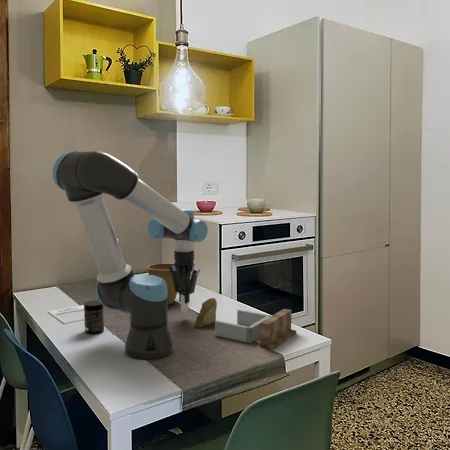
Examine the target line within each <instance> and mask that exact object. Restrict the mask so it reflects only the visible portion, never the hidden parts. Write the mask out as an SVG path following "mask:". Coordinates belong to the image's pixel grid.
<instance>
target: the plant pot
mask: <svg viewBox="0 0 450 450" xmlns="http://www.w3.org/2000/svg"><path fill="white" fill-rule="evenodd" d="M173 265H174V263H171V262H169V263H167V262H166V263H165V262H164V263H163V262H162V263H154V264H150V265H148V266H147V273H148V274H147V275H154V276H158V277H160V278H162V279H164V280H165V282H166V284H167V291H168V305H172V304H174V303H175V300H176V298H177V295H178V292H175V289H174V284H173V279H172V274H171V272H170V270H169V267H172V266H173ZM177 272H178V271H177Z"/></svg>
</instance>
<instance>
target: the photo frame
mask: <svg viewBox="0 0 450 450" xmlns="http://www.w3.org/2000/svg"><path fill="white" fill-rule="evenodd" d="M81 311H84V304H81V305H76V306H70V307H65V308H60V309H55V310H48V311H47V313H48V314H49V315H51V317H54V318H55V319H56V320H58V321H59V322H61V323H62V324H63V325H67V324H72V323H77V322H81V321H84V317H83V318H79V319H74V320H69V321H65V320H64V319H62V318H60V317H59V315H64V314H70V313H76V312H81Z"/></svg>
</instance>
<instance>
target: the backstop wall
mask: <svg viewBox="0 0 450 450" xmlns="http://www.w3.org/2000/svg"><path fill="white" fill-rule="evenodd" d="M292 313H293V310H291V309H287V308H283V309H281V310H280V311H277V312H276V313H274V314H272V315H271V317H269V318H267V319H266V320H264V321H262V322H261V323H260V337H259V347H260V348H265V349H269V350H270V349H271V350H275V349H276V348H278V347H280V346H281V345H282V344H283V343H285V342H286V341H288V340H289V339H291V338H292V337H294V335H296V334H297V330H295V329H292Z"/></svg>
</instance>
